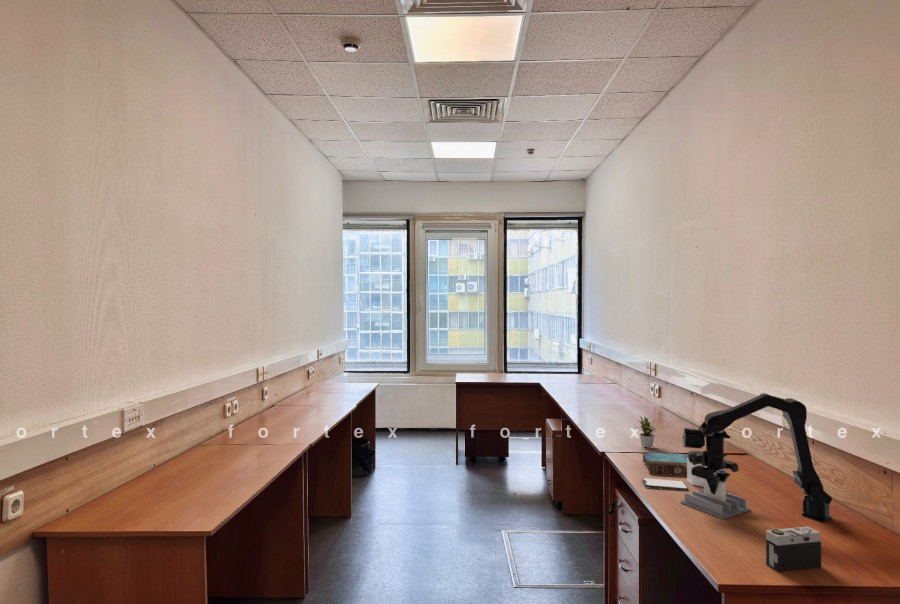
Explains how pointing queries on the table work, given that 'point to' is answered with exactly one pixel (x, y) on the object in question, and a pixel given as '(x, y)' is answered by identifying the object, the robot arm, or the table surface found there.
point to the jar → (690, 478)
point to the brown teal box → (666, 463)
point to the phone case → (664, 484)
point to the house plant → (646, 433)
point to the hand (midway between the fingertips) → (715, 493)
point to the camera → (793, 548)
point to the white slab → (720, 490)
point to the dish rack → (717, 504)
